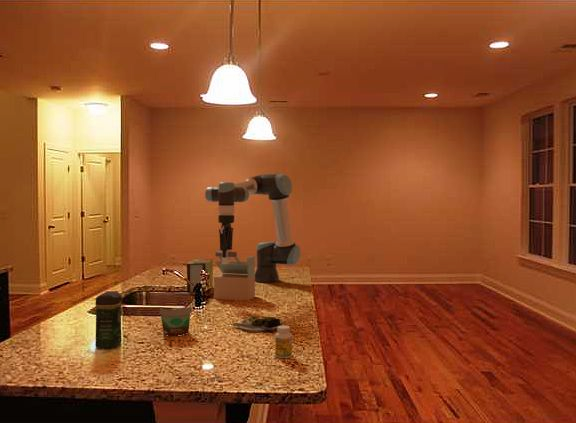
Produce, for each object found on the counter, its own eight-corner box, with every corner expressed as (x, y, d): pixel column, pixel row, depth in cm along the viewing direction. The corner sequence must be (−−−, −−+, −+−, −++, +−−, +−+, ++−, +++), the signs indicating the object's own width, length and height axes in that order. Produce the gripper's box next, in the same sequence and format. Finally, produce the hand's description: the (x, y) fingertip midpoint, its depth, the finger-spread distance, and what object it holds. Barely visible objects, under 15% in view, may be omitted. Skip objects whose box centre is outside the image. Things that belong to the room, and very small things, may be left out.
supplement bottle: (294, 354, 164) (294, 325, 164) (288, 359, 159) (288, 329, 159) (278, 352, 166) (279, 324, 166) (272, 357, 161) (272, 328, 161)
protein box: (213, 287, 280) (213, 259, 279) (205, 292, 264) (205, 263, 264) (194, 286, 281) (194, 259, 280) (186, 292, 266) (186, 263, 265)
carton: (221, 294, 260) (221, 254, 259) (254, 296, 256) (254, 255, 255) (213, 298, 250) (213, 256, 249) (248, 300, 245) (248, 257, 245)
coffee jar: (117, 349, 169) (116, 294, 168) (92, 350, 168) (92, 295, 167) (124, 341, 178) (123, 289, 178) (101, 341, 178) (101, 289, 177)
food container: (163, 339, 181) (163, 311, 181) (159, 334, 187) (159, 308, 186) (196, 334, 187) (196, 308, 186) (191, 330, 192) (191, 304, 192)
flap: (222, 274, 258) (223, 269, 259) (252, 275, 254) (253, 271, 256) (209, 254, 240) (210, 250, 242) (240, 255, 237) (241, 251, 238)
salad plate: (230, 334, 189) (229, 322, 189) (235, 321, 207) (235, 310, 207) (281, 334, 189) (281, 322, 189) (282, 322, 207) (282, 310, 206)
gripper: (224, 214, 248) (224, 261, 249) (212, 215, 233) (212, 265, 234) (239, 214, 246) (239, 262, 247) (227, 215, 231) (227, 266, 232)
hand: (226, 263), depth 240 cm, fingers open, 3 cm apart
